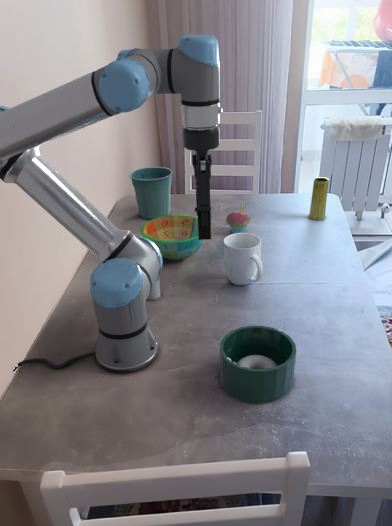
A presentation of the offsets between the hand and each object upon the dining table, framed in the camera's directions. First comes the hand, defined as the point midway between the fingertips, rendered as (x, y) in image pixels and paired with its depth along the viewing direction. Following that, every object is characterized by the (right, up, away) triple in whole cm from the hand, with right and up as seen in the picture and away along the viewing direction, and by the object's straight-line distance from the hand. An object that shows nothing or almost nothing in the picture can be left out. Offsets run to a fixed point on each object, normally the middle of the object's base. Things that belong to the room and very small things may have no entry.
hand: (203, 226), depth 110 cm
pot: (+12, -35, +1) cm, 37 cm away
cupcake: (+13, +15, +66) cm, 69 cm away
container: (-15, -13, +32) cm, 37 cm away
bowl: (-8, +3, +52) cm, 53 cm away
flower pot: (-18, +26, +82) cm, 88 cm away
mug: (+13, -7, +37) cm, 40 cm away
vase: (+44, +22, +74) cm, 89 cm away
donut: (+12, -35, +1) cm, 37 cm away
